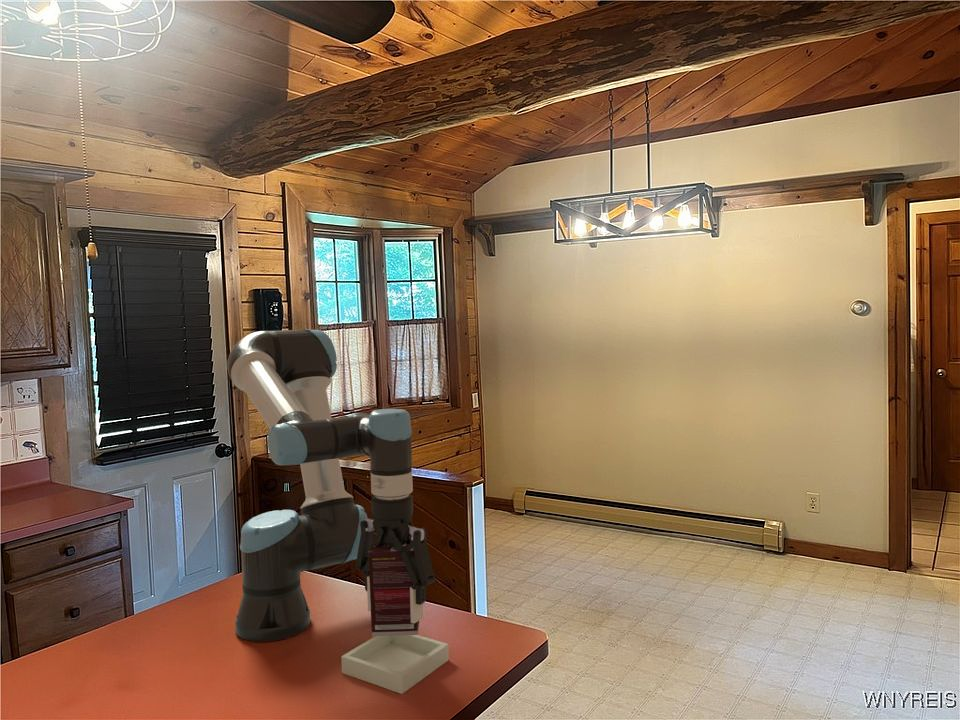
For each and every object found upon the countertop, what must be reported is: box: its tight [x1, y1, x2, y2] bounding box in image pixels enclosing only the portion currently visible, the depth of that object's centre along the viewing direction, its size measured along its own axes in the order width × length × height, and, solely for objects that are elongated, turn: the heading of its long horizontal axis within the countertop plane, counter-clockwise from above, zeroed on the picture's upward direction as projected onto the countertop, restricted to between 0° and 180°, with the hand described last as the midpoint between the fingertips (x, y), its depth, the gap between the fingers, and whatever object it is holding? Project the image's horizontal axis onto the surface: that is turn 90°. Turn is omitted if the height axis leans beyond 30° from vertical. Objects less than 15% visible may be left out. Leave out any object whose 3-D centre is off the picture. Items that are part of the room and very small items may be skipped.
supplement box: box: [368, 543, 420, 637], centre depth 133 cm, size 9×5×16 cm, turn 91°
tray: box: [340, 634, 450, 695], centre depth 134 cm, size 14×14×3 cm
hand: (395, 614), depth 133 cm, fingers closed on supplement box, 9 cm apart
